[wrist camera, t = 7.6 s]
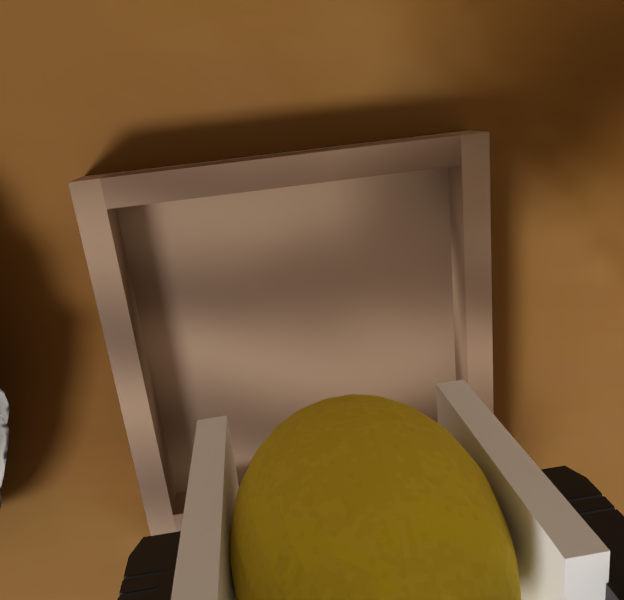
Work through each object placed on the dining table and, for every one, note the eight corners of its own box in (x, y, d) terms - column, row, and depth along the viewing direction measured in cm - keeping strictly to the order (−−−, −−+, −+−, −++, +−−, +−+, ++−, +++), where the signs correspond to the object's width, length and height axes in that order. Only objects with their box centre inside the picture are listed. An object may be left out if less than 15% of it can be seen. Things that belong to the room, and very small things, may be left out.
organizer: (83, 176, 21) (68, 181, 19) (467, 130, 22) (489, 131, 20) (190, 651, 28) (186, 691, 26) (479, 598, 29) (496, 632, 27)
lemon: (446, 345, 15) (644, 562, 8) (424, 524, 17) (571, 850, 9) (233, 343, 15) (224, 579, 7) (231, 531, 16) (221, 886, 9)
